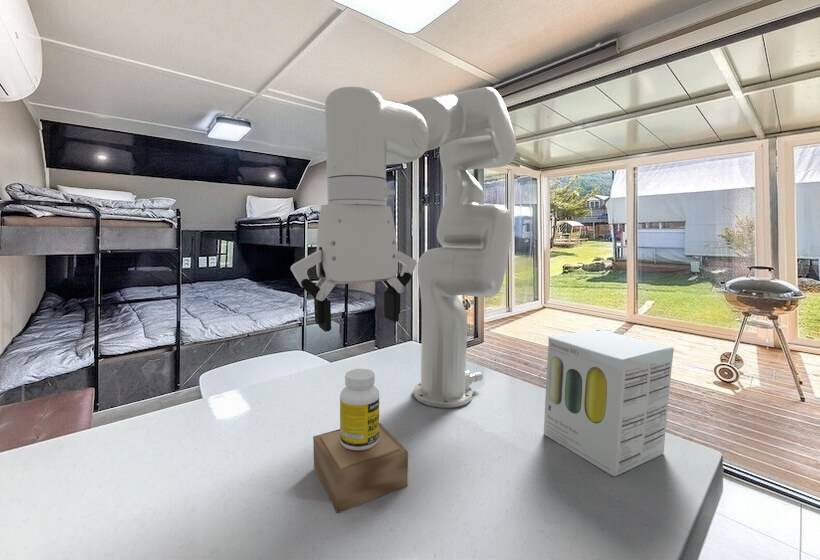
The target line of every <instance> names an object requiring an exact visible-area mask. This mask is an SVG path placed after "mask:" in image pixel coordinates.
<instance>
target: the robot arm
mask: <svg viewBox="0 0 820 560" xmlns="http://www.w3.org/2000/svg"><path fill="white" fill-rule="evenodd" d="M324 105H325V107H324V109H325V110H324V115H325V116H324V117H325V122H324V123H325V149H326V150H325V151H326V156H325V157H326V184H327V187H326V188H327V204H322V205H321V207H320V210H319V216H318V217H319V218H318V225H317V237H316V251H314V252H313V253H310V254H308V255H307V256H305V257H303V258H301V259H300V260H297V262H294V263H292V265H291V266H290V271H291V272H292V274H293V276H294V278H295V279H296V281H297V283H298V284H299V286H300V287H301V288H302V289H303V290H304V291H305V292H306V293H308V294H309V296H311V297H312V298H313V305H314V306H313V307H314V310H313V311H314V321H315V324H316V325H318V328H320V329H321V330H322V331H323V332H324V333H325V332H326V333H328V332H330V331H331V330H332V310H331V309H332V307H331V300H329V299H328V295H329V294H330V293H331V292H332V290H333V289H334V287H335V286H336V285H347V284H348V285H349V284H361V283H362V284H363V283H375V282H382V283H383V285H384V286H385V287H386V288H387V290H385V291H384V292H383V304H384V305H383V310H384V311H383V316H384V318H385V319H387V320H389V321H391V322H394V323H398V322H399V320H400V319H399V318H400V317H399V316H400V313H401V294H402V293H403V292H404V291H405V287H406V286H407V285H408V283H410V281H411V279H412V274H414V273H413V272H414V270H415V269H416V268H417V278H418V279H417V280H418V285H419V289H420V298H421V300H420V301H421V345H420V346H421V350H420V355H421V356H420V357H421V358H420V360H421V364H420V382H418V383H417V384H416V385H414V388H413V397H414V398H415V399H416V400H417V401H419V403H422V404H423V405H426V406H430V407H434V408H443V409H445V408H446V409H447V408H448V409H450V408H451V409H452V408H458V407H462V406H465V405H467V404H468V403H470V402H471V401H472V399H473V393H474V392H473V390H472V388H471V387H470V385H472V384H473V383H477V382H480V381H483V378H484V376H483V374H482V372H480V371H477V372H472V373H471V371H469V370H467V341H468V340H467V339H468V338H467V337H468V336H467V335H468V315H467V311H466V308H465V306H464V304H463V302H462V301H461V299H460V298H459V296H467V297H468V296H469V297H479V298H491V297H494V296H497V295H498V294H499V293H500V291H501V289H502V287H503V283H504V279H505V273H506V269H507V265H508V258H509V254H510V247H511V241H512V237H513V236H512V235H513V220H512V215H511V212H510V211H509V210H508V208H507V207H505V206H503V205H501V204H491V203H490V204H483V203H484V198H485V192H484V189H483V187H482V185H481V184H480V183H479V182H478V181H477V179H476V178H475V177H474V176H473V175H472V174H471V173H470V172H469V170H471V171H472V170H480V169H482V170H483V169H493V168H503V167H506V166H509V165H510V164H511V163H512V162H513V161H514V159H515V157H516V154H517V139H516V135H515V134H516V133H515V130H514V128H513V125H512V122H511V119H510V115H509V113H508V110H507V107H506V105H505V102H504V100H503V98H502V96H501V95H500V93H499V92H498V91H497V90H496V89H495V88H493V87H490V86H484V87H479V88H473V89H472V88H471V89H467V90H462V91H458V92H450V93H446V94H445V93H444V94H440V95H432V96H426V97H421V98H417V99H413V100H409V101H405V102H402V103H398V102H394V101H390V100H386V99H384V98H383V97H382V96H381V95H380V94H379V93H377V92H376V91H374V90H373V89H370V88H366V87H361V86H343V87H338V88H336V89H334V90H331V92H330V93H328V95H327V96H326V99H325V103H324ZM438 148H439V152H438V153H439V160H440V164H441V169H442V174H443V178H444V182H445V185H446V194H445V198H444V201H443V206H442V208H441V213H440V215H439V218H438V219H439V220H438V221H437V222H438V223H437V226H436V239H437V242H438V243H439V244H440V245H441V246H442V247H435V248H434V247H433V248H430V249H428V250H425V251H424V252H423V253H422V254H421V256H420V257H419V258H418V262H417V260H416V259H415V258H412V257H411V256H409V255H407V254H405V253H404V252H403V251H400V250H398V245H397V233H396V227H395V220H394V216H393V211H392V207H391V206H390V205H387V202H389V201H388V199H394V198H395V196H396V190H395V188H394V187H389V186H388V181H387V165H397V164H405V163H406V164H407V163H411V162H414V161H416V160H418V159H420V158H421V157H422V156H423V155H424V154H425V152H428V151H432V150H436V149H438ZM398 263H400V264H401V265H402V267H401V271H400V272H399V273H398ZM315 266H316V268H315V269H316V274H317V275H316V276H317V278H319V279H318V281H317V282H316V284H315V283H314V282H313V281H312V280H311V279H310V277H309V275H308V270H309V269H311V268H313V267H315ZM416 266H417V267H416ZM396 275H397V276H396Z"/></svg>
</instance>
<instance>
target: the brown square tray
mask: <svg viewBox="0 0 820 560" xmlns="http://www.w3.org/2000/svg"><path fill="white" fill-rule="evenodd" d="M312 438H313V442H312V444H313V445H312V446H313V469H314V472H315V473H316V476H317V477H318V479H319V481H320V483H321V485H322V486H323V487H322V488H324V491H325V493H326V494H327V497H328V498H329V500H330V502H331V505H332V506H333V508H334V510H335V512H336V514H339V513H341V512H344V511H347V510H348V509H351V508H355V507H358V506H359V505H362V504H364V503H367V502H369V501H373V500H375V499H377V498H380V497H383V496H385V495H388V494H390V493H394V492H395V491H397V490H400V489H403V488H405V487H408V484H409V483H408V476H409V473H408V472H409V464H408V463H409V451H408V450H407V449H406V447H404V446H403V445H402V443H400V442H399V440H397V439H396V438H395V437H394V436H393V435H392V434H391V432H389V431H388V430H387V428H385V427H384V426H383V424H381V422H379V440H378V442H377V444H376V445H374V446H373V447H372V448H369V449H366V450H359V451H358V450H350V449H347V448H345V447H344V446H343V445H342V444H341V441H340V428H339V429H336V430H332V431H328V432H324V433H321V434H318V435H316V434H315V435H313V437H312Z"/></svg>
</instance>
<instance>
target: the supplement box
mask: <svg viewBox="0 0 820 560" xmlns="http://www.w3.org/2000/svg"><path fill="white" fill-rule="evenodd" d="M547 346H548V347H547V360H546V361H547V363H546V381H545V382H546V383H545V385H546V386H545V400H544V401H545V403H544V420H543V435H545V436H546V437H548V438H550V439H551V440H553V441H554V442H556V443H558V444H559V445H560V446H562V447H564V448H566V449H567V450H569V451H571V452H572V453H574V455H575V454H576V455H577V456H579V457H580V458H582V459H584V460H586V461H587V462H589V463H590V464H592V465H593V466H595V467H597V468H599V469H600V470H602V471H604V472H605V473H607V474H608V475H611V476H612V477H617V476H619V475H620V474H623V473H626V472H628V471H630V470H632V469H634V468H635V467H638V466H641V465H643V464H644V463H645V464H646V462H649V461H651V460H654V459H655V458H657V457H659V456H661V455H663V454H665V440H666V430H667V421H668V420H667V419H668V418H667V417H668V409H669V399H670V391H671V389H670V388H671V376H672V368H673V358H674V350H675V348H674V347H673V346H669V345H666V344H665V345H664V344H661V343H656V342H653V341H648V340H645V339H640V338H636V337H633V336H629V335H624V334H620V333H615V332H613V331H612V332H611V331H608V330H604V329H598V328H594V329H587V330H581V331H575V332H570V333H565V334H558V335H553V336H548V344H547Z"/></svg>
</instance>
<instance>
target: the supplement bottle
mask: <svg viewBox="0 0 820 560" xmlns="http://www.w3.org/2000/svg"><path fill="white" fill-rule="evenodd" d="M344 377H345V378H344V380H345V381H344V385H345V387H343V388H342V390H341V391H340V393H339V429H340V441H341V444H342V445H343V446H344V447H345V448H347V449H350V450H358V451H359V450H366V449H369V448H372V447H373V446H374V445H376V444H377V442H378V440H379V423H380V391H379V389H378V388H377V387H376V386H375V380H376V379H375V372H374V371H373V370H370V369H367V368H355V369H351V370H349V371H347V372H345V376H344Z"/></svg>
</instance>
